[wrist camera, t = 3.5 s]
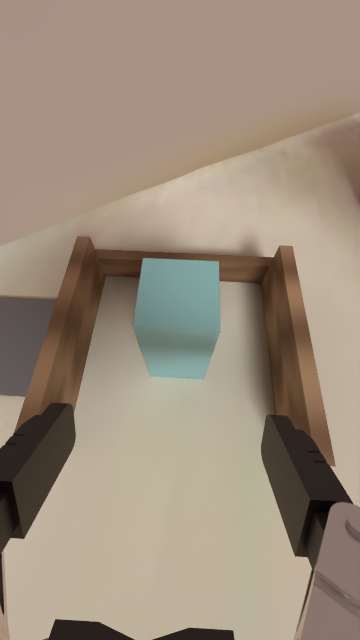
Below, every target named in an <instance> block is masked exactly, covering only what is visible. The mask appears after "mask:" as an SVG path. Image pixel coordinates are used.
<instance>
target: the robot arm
mask: <svg viewBox="0 0 360 640" xmlns="http://www.w3.org/2000/svg"><path fill="white" fill-rule="evenodd" d="M75 437H76V433H75V423H74V413H73V406H72V404H70V403H51V404H49V406H48V407H47V408H46V409H45V410H44V412H43V413H42V414H41V415H35V416H33V417H32V418H30V419H29V420H27V421H26V422H24V423H23V424H22V425H21V426H20V427H19V428H18V429H17V431H16V432H15V433H14V434H13V436H11V437H10V438H9V440H8V441H7V442H6V444H5V445H3V446H2V447H1V449H0V640H10V637H9V630H8V619H7V601H6V584H5V566H4V553H3V549H4V548H5V546H6V544H7V543H8V541H9V539H10V538H20V539H24V538H25V536H26V534H27V532H28V530H29V529H30V527H31V525H32V523H33V521H34V519H35V518H36V516H37V514H38V512H39V510H40V508H41V507H42V505H43V503H44V501H45V499H46V497H47V496H48V494H49V492H50V490H51V488H52V486H53V484H54V483H55V481H56V479H57V477H58V475H59V473H60V472H61V470H62V468H63V466H64V464H65V462H66V461H67V459H68V457H69V455H70V453H71V451H72V449H73V447H74V443H75ZM261 454H262V460H263V463H264V466H265V469H266V472H267V475H268V478H269V481H270V484H271V487H272V490H273V493H274V496H275V499H276V502H277V505H278V508H279V511H280V513H281V516H282V519H283V522H284V525H285V528H286V531H287V534H288V537H289V540H290V543H291V546H292V549H293V552H294V555H295V556H299V557H308V559H309V562H310V564H311V567H312V570H311V573H310V577H309V581H308V585H307V589H306V593H305V597H304V601H303V605H302V609H301V613H300V617H299V621H298V625H297V629H296V633H295V637H294V640H360V507H358V506H356V505H354V504H353V502H352V501H351V499H350V497H349V496H348V494H347V493H346V491H345V489H344V488H343V486H342V485H341V483H340V481H339V480H338V478H337V477H336V475H335V473H334V472H333V470H332V469H331V467H330V466H329V464H327V461H326V459H325V458H324V456H323V454H321V451H320V450H319V448H318V446H317V445H316V443H315V442H314V440H313V439H312V438H311V437H310V436H309V435H307V434H306V433H305V432H304V431H303V430H300V429H295V427H294V426H293V424H292V422H291V420H290V418H289V417H288V416H287V415H269V414H268V415H267V416H266V421H265V426H264V432H263V438H262V444H261ZM44 640H134V639H132V638H130V637H128V636H126V635H124V634H122V633H120V632H118V631H116V630H114V629H112V628H110V627H108V626H106V625H104V624H102V623H100V622H90V621H74V620H59V619H55V622H54V625H53V628H52V630H51V633H50V636H49V638H47V639H44ZM153 640H234V633H233V631H232V630H217V629H201V628H187V629H184V630H181V631H178V632H175V633H172V634H169V635H166V636H162V637H159V638H156V639H153Z"/></svg>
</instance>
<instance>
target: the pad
mask: <svg viewBox="0 0 360 640" xmlns="http://www.w3.org/2000/svg"><path fill="white" fill-rule="evenodd" d="M55 304H56V301H53V300H33V299H13V298H0V395H8V396H25V397H26V394H27V391H28V388H29V385H30V382H31V379H32V376H33V373H34V370H35V366H36V363H37V360H38V357H39V354H40V351H41V348H42V345H43V342H44V338H45V335H46V332H47V329H48V326H49V323H50V320H51V317H52V314H53V311H54V307H55Z"/></svg>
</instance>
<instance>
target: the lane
mask: <svg viewBox="0 0 360 640" xmlns="http://www.w3.org/2000/svg"><path fill="white" fill-rule="evenodd" d="M143 258H154V259H176V260H198V261H219V281H229V282H250V283H261V286H262V295H263V304H264V313H265V322H266V331H267V340H268V349H269V358H270V367H271V376H272V385H273V394H274V402H275V411H276V415H287V416H288V417H289V418H290V420H291V422H292V424H293V426H294V427H295V429H300V430H303V431H304V432H305V433H306V434H307V435H309V436H310V437H311V438H312V439H313V440H314V442H315V443H316V445H317V446H318V448H319V450H320V451H321V454H323V456H324V458H325V459H326V461H327V464H329V466H335V461H334V456H333V451H332V446H331V440H330V435H329V430H328V425H327V420H326V415H325V410H324V405H323V400H322V395H321V389H320V384H319V379H318V374H317V369H316V364H315V359H314V354H313V349H312V344H311V338H310V333H309V328H308V323H307V318H306V313H305V308H304V303H303V298H302V292H301V287H300V282H299V277H298V272H297V267H296V262H295V257H294V252H293V247H292V246H279V248H278V250H277V252H276V254H275V256H274V258H273V257H251V256H229V255H208V254H186V253H164V252H142V251H121V250H99V249H95V248H94V246H93V244H92V241H91V239H90V237H78V236H77V239H76V242H75V245H74V248H73V252H72V255H71V258H70V261H69V264H68V267H67V270H66V273H65V276H64V280H63V283H62V286H61V289H60V292H59V295H58V298H57V301H56V304H55V307H54V311H53V314H52V317H51V320H50V323H49V326H48V329H47V332H46V335H45V338H44V342H43V345H42V348H41V351H40V354H39V357H38V360H37V363H36V366H35V370H34V373H33V376H32V379H31V382H30V385H29V388H28V391H27V394H26V397H25V401H24V404H23V407H22V410H21V413H20V416H19V419H18V422H17V425H16V428H15V432H16V431H17V429H18V428H19V427H20V426H21V425H22V424H23V423H24V422H26V421H27V420H29V419H30V418H32V417H33V416H35V415H41V414H42V413H43V412H44V410H45V409H46V408H47V407H48V406H49V404H51V403H70V404H72V406H73V413H74V410H75V406H76V402H77V397H78V393H79V389H80V384H81V380H82V376H83V371H84V367H85V363H86V359H87V354H88V350H89V346H90V341H91V337H92V333H93V328H94V324H95V320H96V315H97V311H98V307H99V302H100V298H101V294H102V289H103V285H104V281H105V276H125V277H140V275H141V268H142V262H143ZM15 432H14V433H15Z"/></svg>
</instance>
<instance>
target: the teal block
mask: <svg viewBox="0 0 360 640" xmlns="http://www.w3.org/2000/svg"><path fill="white" fill-rule="evenodd" d="M133 329H134V331H135V334H136V337H137V340H138V342H139V345H140V348H141V351H142V353H143V356H144V359H145V362H146V364H147V367H148V370H149V373H150V375H151V377H169V378H187V379H204V376H205V373H206V370H207V368H208V365H209V362H210V359H211V356H212V353H213V350H214V347H215V344H216V342H217V339H218V336H219V333H220V290H219V261H198V260H176V259H154V258H143V262H142V268H141V275H140V281H139V288H138V294H137V301H136V307H135V313H134V320H133Z"/></svg>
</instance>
